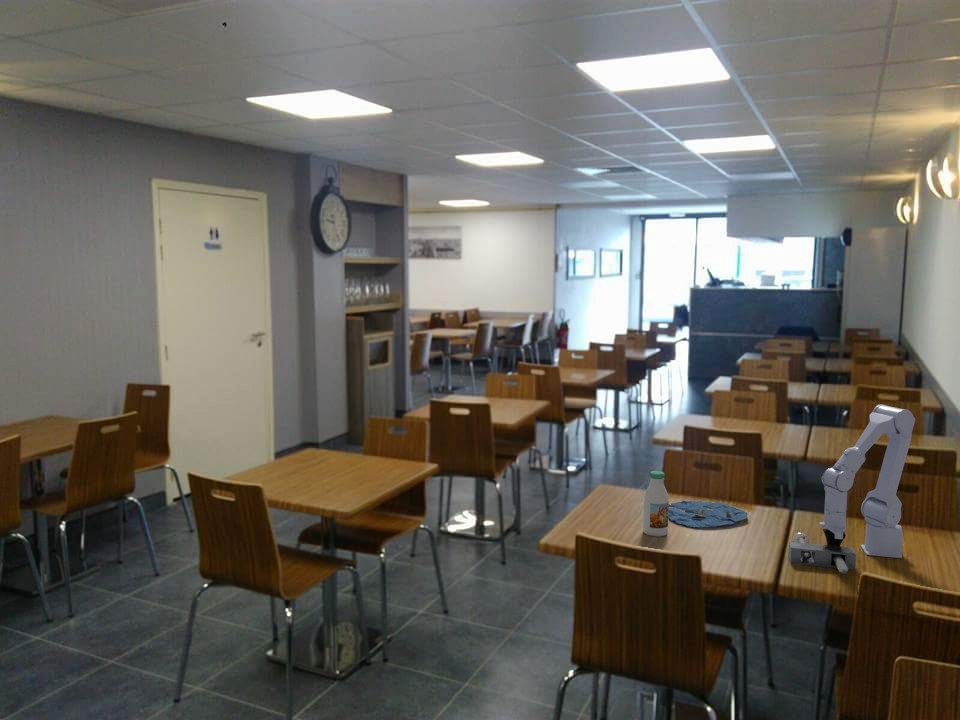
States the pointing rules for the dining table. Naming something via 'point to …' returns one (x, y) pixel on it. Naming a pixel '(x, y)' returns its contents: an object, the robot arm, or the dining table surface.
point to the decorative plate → (704, 514)
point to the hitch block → (821, 555)
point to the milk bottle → (656, 506)
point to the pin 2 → (839, 562)
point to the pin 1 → (802, 539)
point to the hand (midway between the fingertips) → (832, 554)
